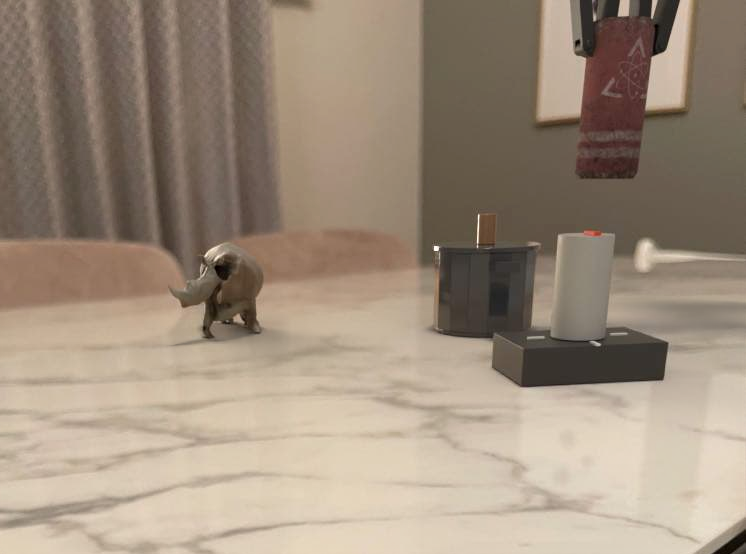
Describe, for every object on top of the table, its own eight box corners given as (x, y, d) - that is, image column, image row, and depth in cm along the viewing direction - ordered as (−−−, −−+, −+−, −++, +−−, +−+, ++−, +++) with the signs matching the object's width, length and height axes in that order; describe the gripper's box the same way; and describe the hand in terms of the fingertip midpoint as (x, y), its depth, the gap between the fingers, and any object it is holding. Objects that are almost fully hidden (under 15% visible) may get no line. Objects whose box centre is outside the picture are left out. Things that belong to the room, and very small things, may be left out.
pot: (506, 316, 101) (510, 242, 98) (554, 339, 87) (561, 253, 83) (419, 320, 100) (420, 245, 97) (453, 343, 85) (456, 256, 82)
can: (643, 178, 87) (663, 21, 82) (627, 178, 82) (647, 11, 77) (585, 178, 90) (600, 27, 85) (566, 179, 85) (581, 17, 80)
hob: (619, 360, 76) (623, 324, 75) (665, 380, 68) (671, 340, 67) (490, 366, 75) (492, 329, 74) (522, 387, 67) (525, 347, 66)
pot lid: (519, 249, 96) (522, 210, 95) (556, 257, 86) (559, 214, 84) (421, 252, 95) (422, 213, 93) (446, 261, 84) (447, 217, 83)
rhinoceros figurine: (283, 295, 103) (252, 189, 91) (275, 380, 96) (241, 278, 84) (221, 302, 104) (182, 198, 92) (209, 386, 97) (165, 286, 85)
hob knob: (542, 333, 72) (550, 229, 69) (591, 331, 73) (601, 228, 69) (562, 341, 68) (571, 232, 65) (614, 339, 69) (625, 231, 65)
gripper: (695, -139, 79) (660, 138, 89) (550, -143, 78) (530, 139, 87) (738, -169, 73) (696, 135, 82) (580, -174, 71) (555, 135, 80)
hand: (610, 137), depth 85 cm, fingers closed on can
